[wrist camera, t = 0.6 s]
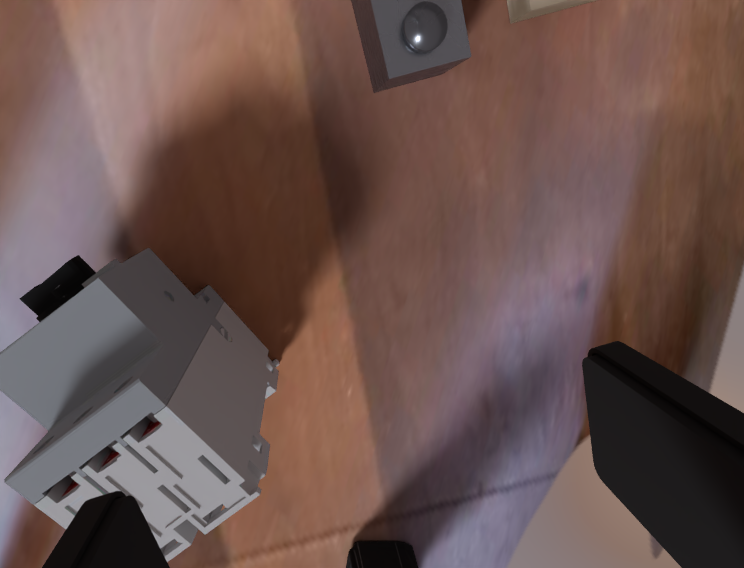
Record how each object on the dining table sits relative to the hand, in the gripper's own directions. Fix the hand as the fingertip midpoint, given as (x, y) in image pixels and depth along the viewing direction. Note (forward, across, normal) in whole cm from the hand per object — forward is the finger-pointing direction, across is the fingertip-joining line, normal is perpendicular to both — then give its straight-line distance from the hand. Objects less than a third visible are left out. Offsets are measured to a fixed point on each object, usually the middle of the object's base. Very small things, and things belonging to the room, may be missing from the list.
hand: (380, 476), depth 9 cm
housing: (+26, -8, -13) cm, 31 cm away
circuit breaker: (+26, +12, +3) cm, 29 cm away
